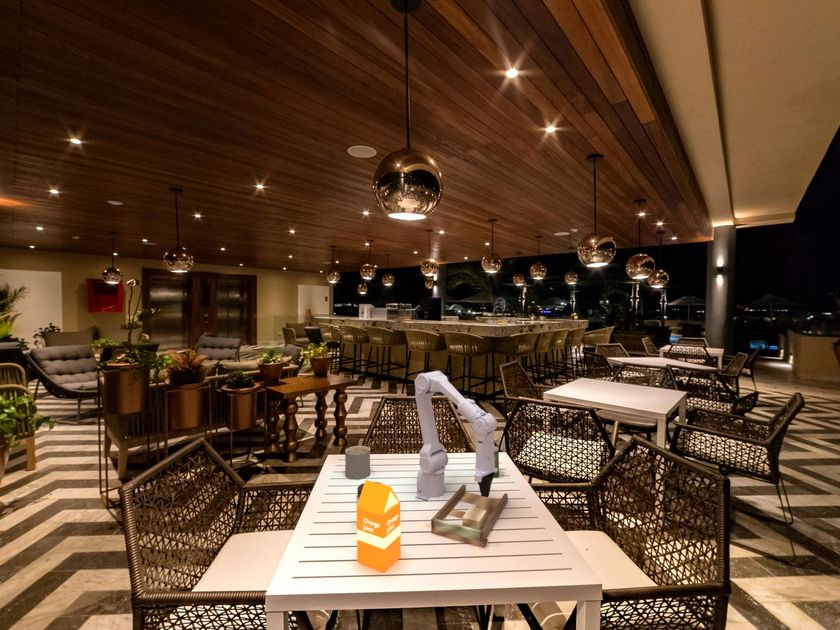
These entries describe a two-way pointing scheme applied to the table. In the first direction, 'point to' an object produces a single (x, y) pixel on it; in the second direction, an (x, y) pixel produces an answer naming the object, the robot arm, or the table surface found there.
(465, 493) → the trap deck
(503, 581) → the table surface
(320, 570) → the table surface
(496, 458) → the canned tomato
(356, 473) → the coffee mug
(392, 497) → the orange juice
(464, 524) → the maple block
